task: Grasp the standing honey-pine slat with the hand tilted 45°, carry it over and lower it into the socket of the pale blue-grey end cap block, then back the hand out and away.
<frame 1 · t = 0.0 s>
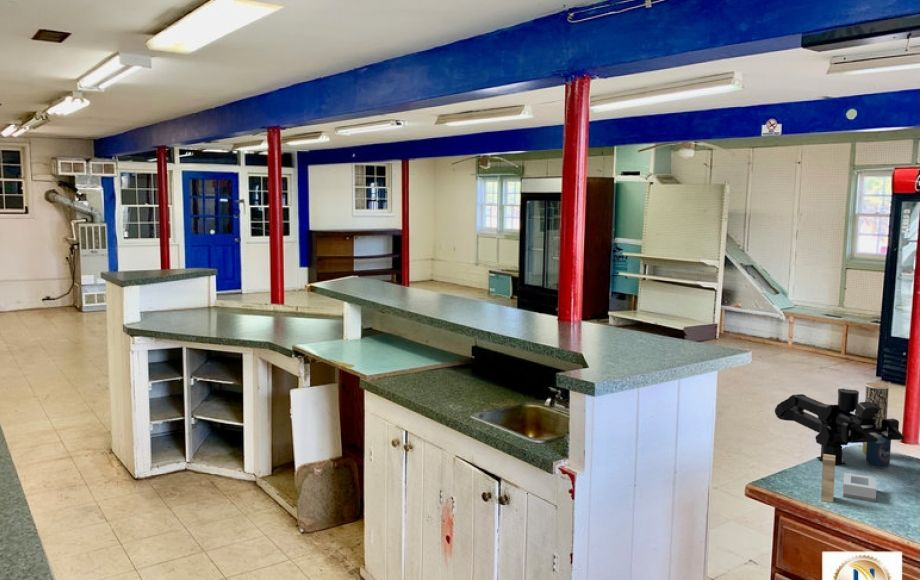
hand: (890, 439, 213), 17 cm above the counter, tool horizontal, fingers open, 9 cm apart
bark log: (873, 454, 246), on the counter
end cap: (859, 493, 214), on the counter
slat: (827, 498, 210), on the counter
soda can: (877, 465, 236), on the counter
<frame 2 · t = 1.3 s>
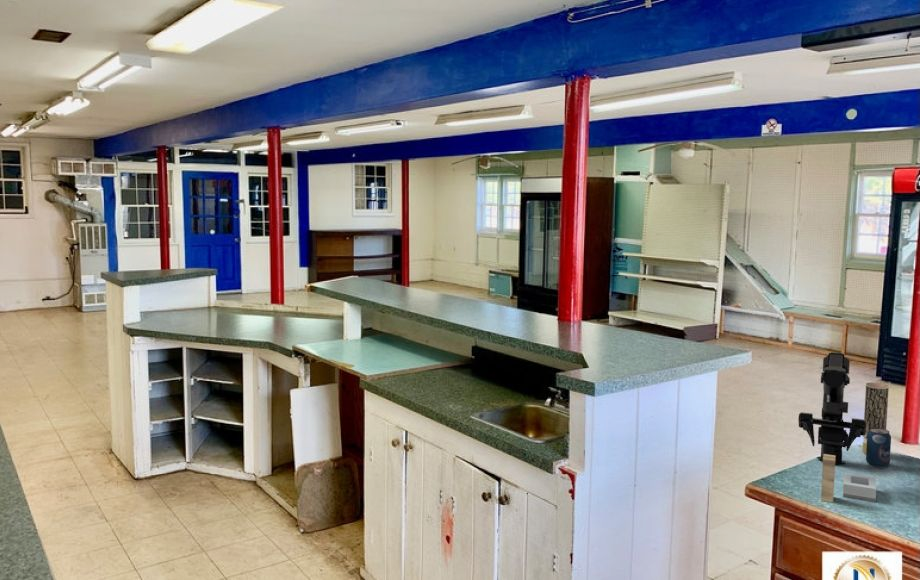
hand: (830, 448, 215), 13 cm above the counter, tool tilted 45°, fingers open, 9 cm apart
nothing on the counter moved.
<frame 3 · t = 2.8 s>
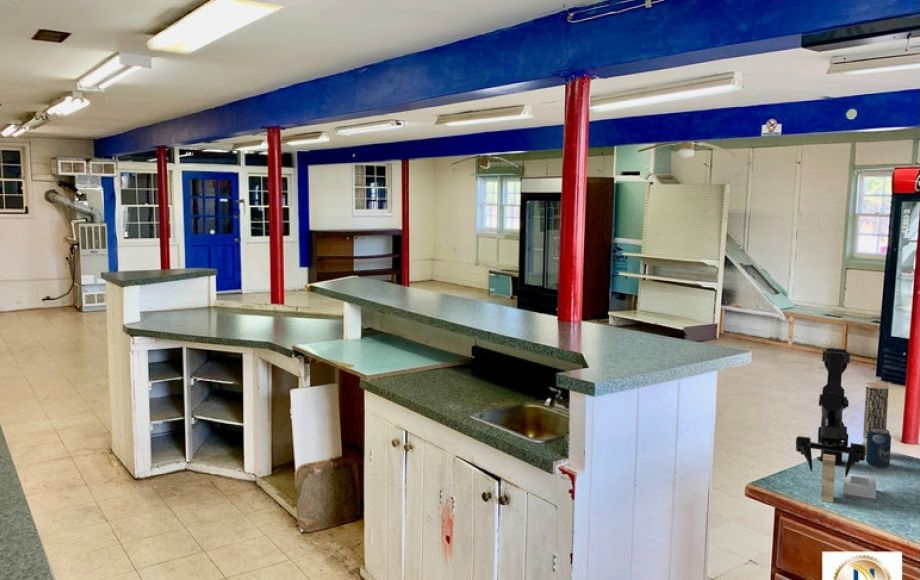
hand: (828, 473, 209), 8 cm above the counter, tool tilted 45°, fingers open, 9 cm apart
nothing on the counter moved.
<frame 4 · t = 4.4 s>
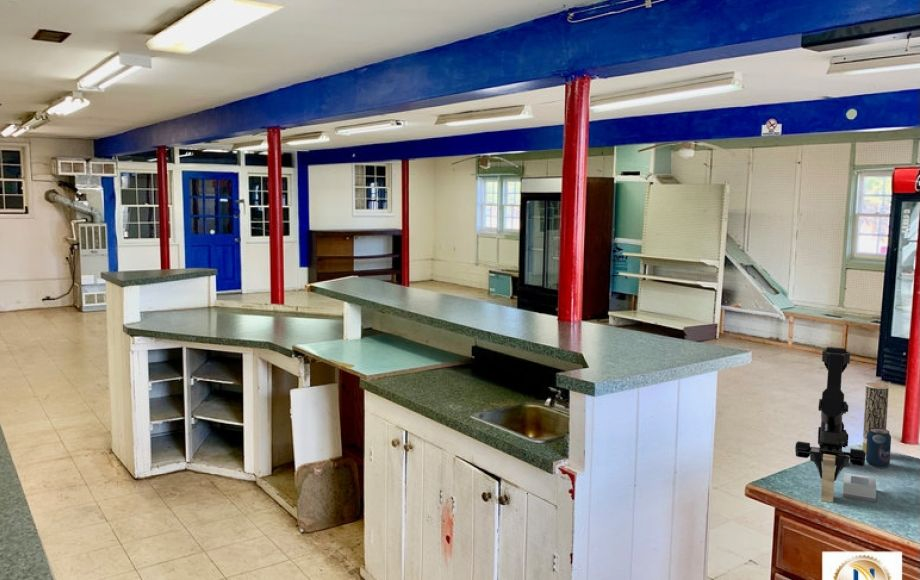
hand: (828, 479, 208), 7 cm above the counter, tool tilted 45°, fingers closed on slat, 3 cm apart
slat: (827, 498, 210), on the counter, touching gripper
everything else where it was.
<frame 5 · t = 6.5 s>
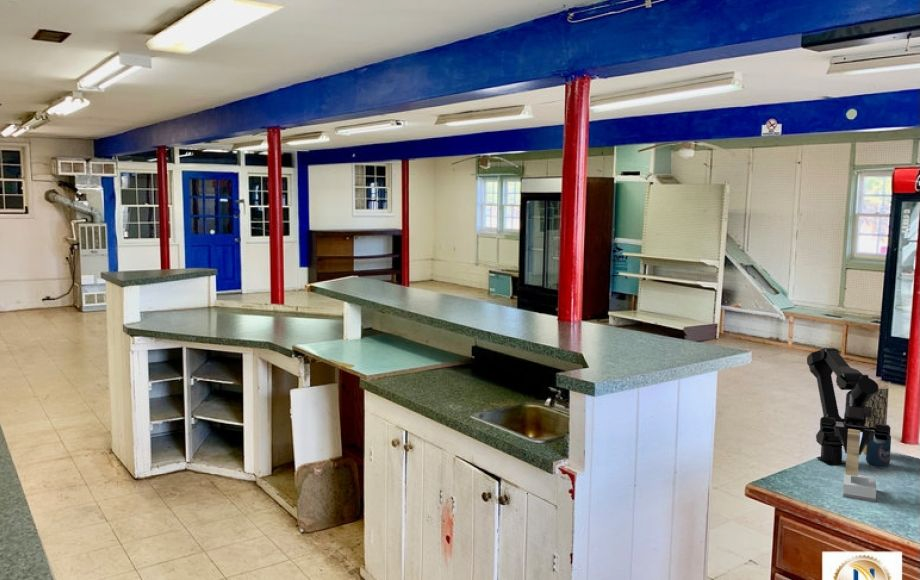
hand: (852, 453, 210), 13 cm above the counter, tool tilted 45°, fingers closed on slat, 3 cm apart
slat: (851, 472, 212), point 7 cm above the counter, touching gripper
everything else where it was.
when the fingers open (9 cm above the counter, at t = 8.5 s): slat drops 1 cm, resting on end cap.
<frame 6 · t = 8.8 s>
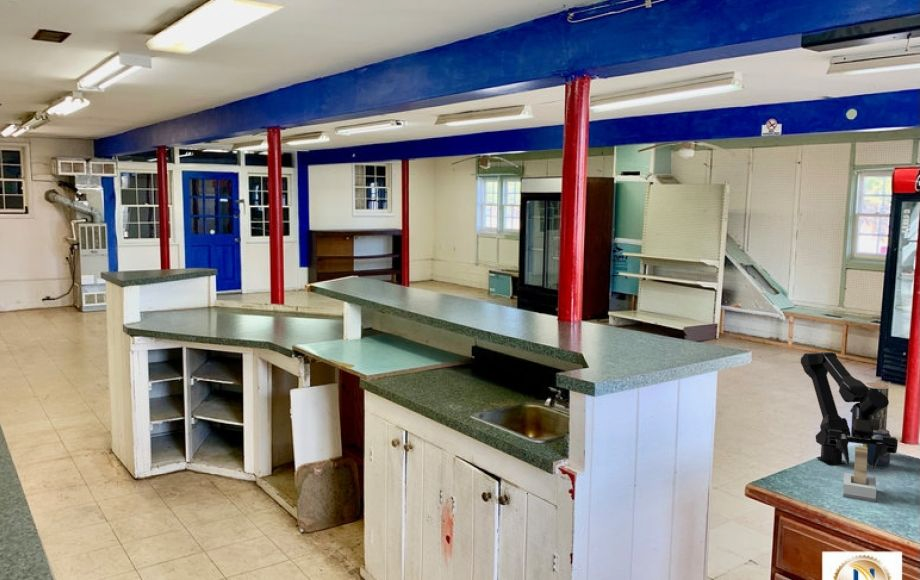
hand: (860, 466, 211), 9 cm above the counter, tool tilted 45°, fingers open, 6 cm apart
slat: (859, 490, 214), point 1 cm above the counter, touching end cap
everything else where it was.
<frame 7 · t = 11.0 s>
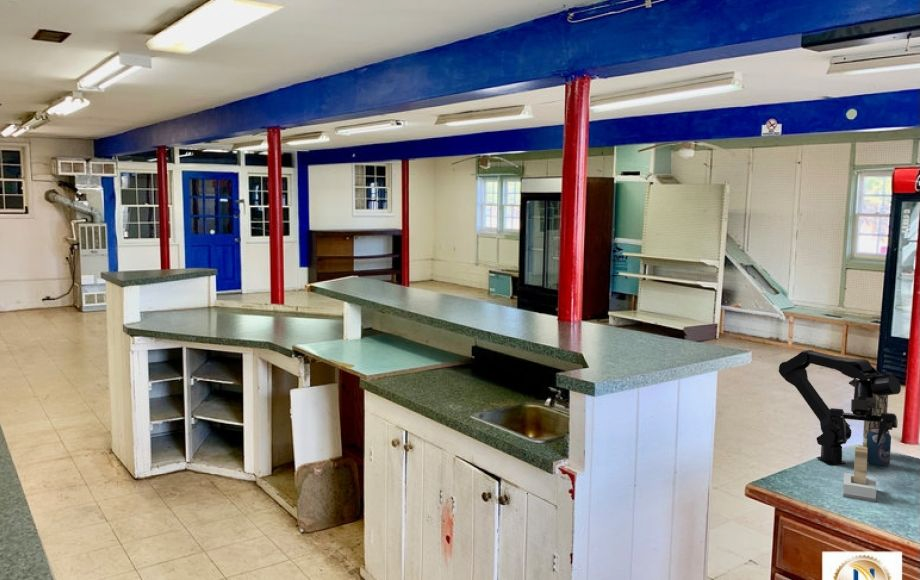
hand: (860, 443, 220), 13 cm above the counter, tool tilted 35°, fingers open, 9 cm apart
nothing on the counter moved.
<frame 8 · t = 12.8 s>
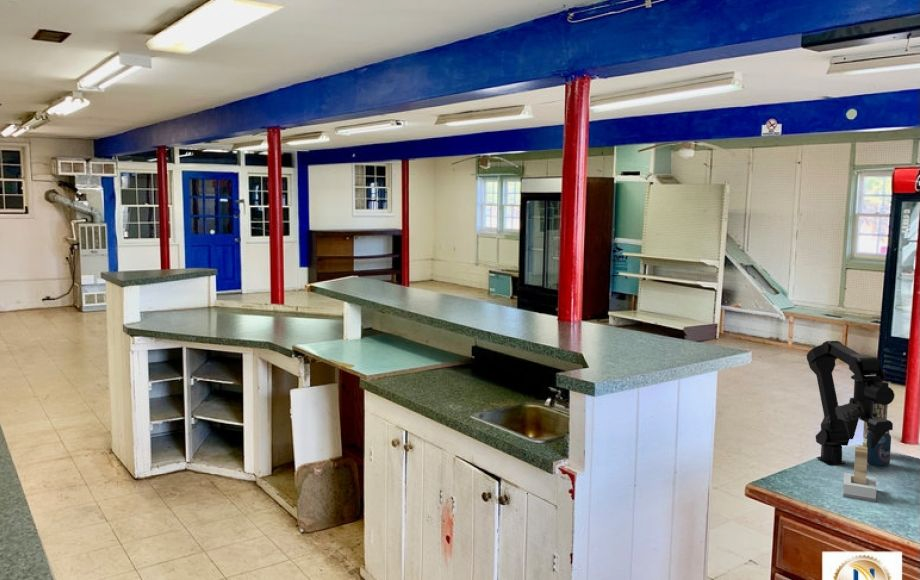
hand: (861, 443, 222), 12 cm above the counter, tool pointing down, fingers open, 9 cm apart
nothing on the counter moved.
at the end: slat 0.0 cm off-centre on the end cap, point 1.0 cm above the end cap's base; slat tilted 0°; the gripper is holding nothing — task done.
